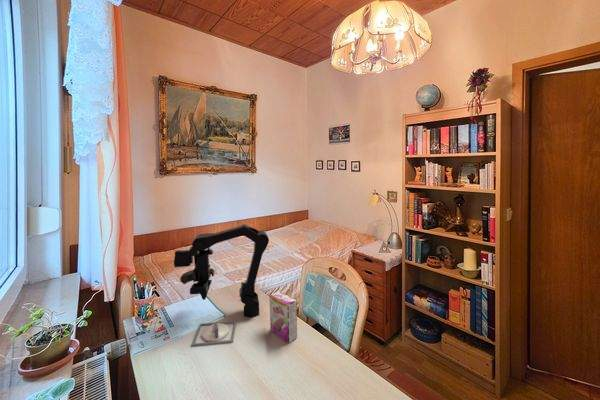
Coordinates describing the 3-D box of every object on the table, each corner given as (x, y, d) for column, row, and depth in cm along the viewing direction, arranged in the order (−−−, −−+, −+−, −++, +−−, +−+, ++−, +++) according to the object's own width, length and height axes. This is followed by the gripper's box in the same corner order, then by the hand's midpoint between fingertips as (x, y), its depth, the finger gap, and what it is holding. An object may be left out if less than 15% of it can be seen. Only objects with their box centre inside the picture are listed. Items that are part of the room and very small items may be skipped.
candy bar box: (269, 331, 109) (268, 294, 107) (278, 326, 113) (278, 290, 110) (288, 344, 102) (288, 304, 99) (297, 338, 105) (297, 299, 103)
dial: (201, 329, 109) (200, 318, 108) (226, 323, 113) (226, 312, 112) (203, 344, 100) (202, 332, 99) (230, 337, 104) (229, 325, 103)
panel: (236, 324, 114) (236, 320, 114) (233, 345, 101) (232, 340, 101) (200, 327, 112) (200, 323, 112) (192, 349, 99) (191, 344, 99)
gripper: (188, 257, 120) (190, 290, 122) (174, 275, 102) (177, 313, 104) (213, 256, 121) (215, 288, 124) (204, 273, 103) (207, 310, 105)
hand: (204, 299), depth 114 cm, fingers closed
